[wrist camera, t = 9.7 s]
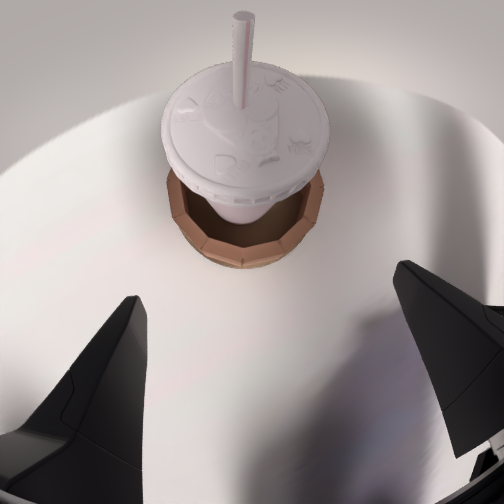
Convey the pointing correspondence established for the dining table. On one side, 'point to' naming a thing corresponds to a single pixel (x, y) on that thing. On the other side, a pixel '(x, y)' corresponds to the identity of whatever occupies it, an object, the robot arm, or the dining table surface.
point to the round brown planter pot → (245, 236)
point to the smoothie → (244, 132)
